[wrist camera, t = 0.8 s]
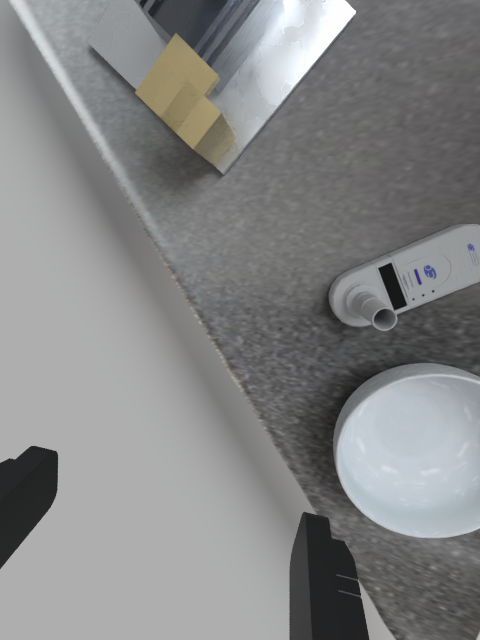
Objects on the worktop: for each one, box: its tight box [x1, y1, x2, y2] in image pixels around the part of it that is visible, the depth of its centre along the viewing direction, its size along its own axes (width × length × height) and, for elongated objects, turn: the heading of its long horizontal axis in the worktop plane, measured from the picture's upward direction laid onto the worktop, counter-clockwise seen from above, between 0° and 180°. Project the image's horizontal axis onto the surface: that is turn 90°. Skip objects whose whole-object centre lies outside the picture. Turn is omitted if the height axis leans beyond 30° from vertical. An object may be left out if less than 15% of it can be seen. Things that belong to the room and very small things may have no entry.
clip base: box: [88, 0, 356, 175], centre depth 27 cm, size 16×16×8 cm
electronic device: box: [329, 224, 480, 331], centre depth 30 cm, size 5×10×15 cm
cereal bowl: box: [333, 363, 480, 538], centre depth 35 cm, size 17×17×7 cm
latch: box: [135, 33, 236, 166], centre depth 28 cm, size 4×5×8 cm
